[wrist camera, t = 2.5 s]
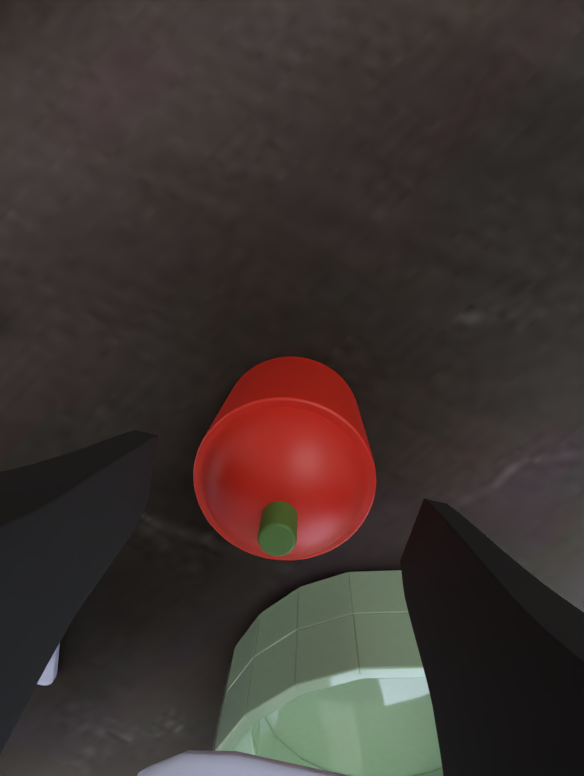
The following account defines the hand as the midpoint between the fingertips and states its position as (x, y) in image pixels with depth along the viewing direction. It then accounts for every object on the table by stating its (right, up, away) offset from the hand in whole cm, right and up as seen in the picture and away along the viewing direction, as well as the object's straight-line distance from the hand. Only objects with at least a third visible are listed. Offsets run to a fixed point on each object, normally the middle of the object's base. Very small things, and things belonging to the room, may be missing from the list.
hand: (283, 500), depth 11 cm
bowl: (+4, -11, +9) cm, 15 cm away
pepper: (0, +2, +5) cm, 6 cm away
